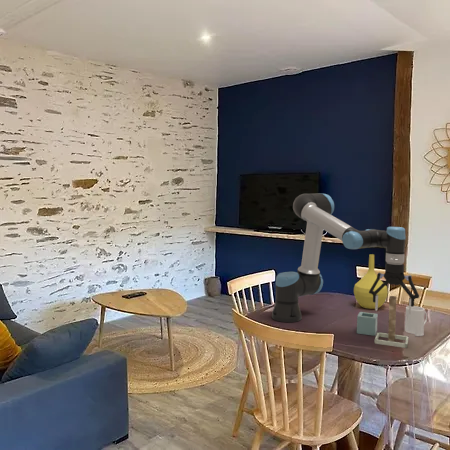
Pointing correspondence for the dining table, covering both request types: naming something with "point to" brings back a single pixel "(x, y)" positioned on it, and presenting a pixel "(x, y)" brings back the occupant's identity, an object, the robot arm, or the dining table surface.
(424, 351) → the dining table surface
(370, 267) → the vase
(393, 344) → the pale green rectangular frame
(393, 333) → the dowel
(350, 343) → the dining table surface
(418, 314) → the mug
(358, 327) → the teal socket block
